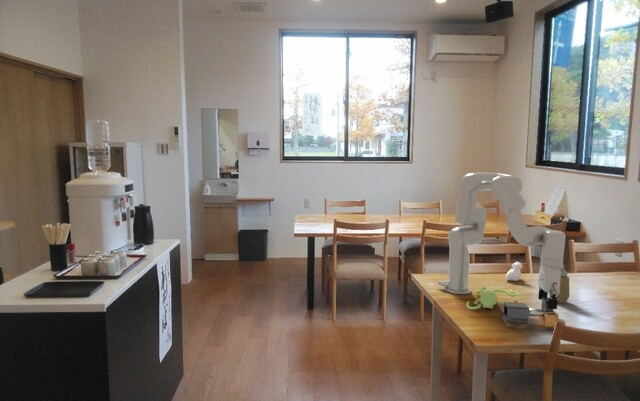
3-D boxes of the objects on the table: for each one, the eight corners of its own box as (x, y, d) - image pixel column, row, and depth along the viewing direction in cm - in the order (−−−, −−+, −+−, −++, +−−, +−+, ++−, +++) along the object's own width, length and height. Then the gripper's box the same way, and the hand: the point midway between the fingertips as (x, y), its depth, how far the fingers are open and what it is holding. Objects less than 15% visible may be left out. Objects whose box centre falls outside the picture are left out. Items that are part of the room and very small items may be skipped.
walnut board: (507, 327, 165) (508, 324, 165) (501, 318, 174) (501, 315, 174) (559, 331, 162) (560, 328, 162) (550, 321, 171) (550, 319, 171)
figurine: (520, 300, 196) (521, 289, 195) (509, 319, 174) (510, 306, 173) (478, 292, 206) (479, 281, 205) (463, 309, 184) (464, 297, 183)
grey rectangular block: (521, 317, 166) (522, 299, 165) (518, 313, 170) (519, 295, 169) (553, 319, 165) (555, 301, 164) (549, 315, 168) (551, 297, 168)
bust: (508, 286, 222) (523, 273, 215) (498, 275, 225) (512, 261, 219) (518, 281, 230) (532, 268, 224) (507, 271, 233) (521, 257, 227)
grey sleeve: (506, 322, 167) (507, 306, 166) (502, 317, 172) (504, 302, 171) (528, 324, 166) (529, 308, 165) (523, 319, 171) (524, 303, 170)
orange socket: (545, 326, 164) (546, 314, 163) (538, 319, 171) (539, 307, 170) (557, 327, 163) (558, 314, 163) (550, 320, 170) (551, 308, 169)
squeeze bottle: (566, 299, 197) (570, 262, 195) (570, 305, 189) (574, 267, 187) (547, 297, 199) (550, 260, 197) (550, 303, 192) (554, 265, 190)
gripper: (533, 255, 173) (529, 295, 175) (549, 267, 156) (545, 311, 158) (553, 256, 172) (548, 296, 174) (571, 269, 155) (566, 313, 157)
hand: (547, 303), depth 166 cm, fingers open, 9 cm apart
